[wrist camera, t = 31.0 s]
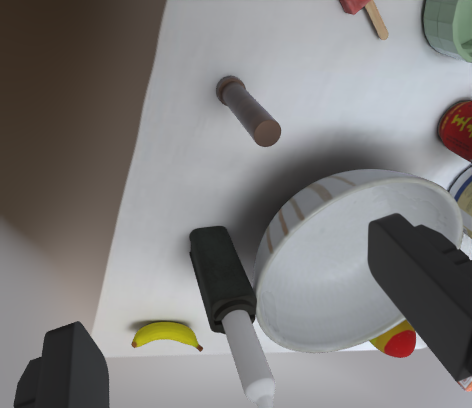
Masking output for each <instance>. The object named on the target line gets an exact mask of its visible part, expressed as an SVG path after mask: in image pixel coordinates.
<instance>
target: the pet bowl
mask: <svg viewBox="0 0 472 408" xmlns="http://www.w3.org/2000/svg"><path fill="white" fill-rule="evenodd" d="M423 20H424V30H425V35H426V37H427V39H428V41H429V43H430V45H431V46H432V47H433V48H434V49H435V50H436V51H438V52H439V53H441V54H445V55H448V56H451V57H454V58H457V59H460V60H463V61H466V62H470V63H472V0H426V5H425V11H424V18H423Z"/></svg>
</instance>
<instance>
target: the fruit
mask: <svg viewBox="0 0 472 408" xmlns="http://www.w3.org/2000/svg"><path fill="white" fill-rule="evenodd" d="M160 339H170V340H175V341H179V342H182V343H184V344H188V345H192V346H194V347H196V348H197V349H198V350H199V351H200V352H201V351H202V350H203V347H201V346H200V345H199V344H198V342H197V339H196V336H195V333H194V332H193V331H192V330H191V329H190V328H189V327H187V326H185V325H182V324H179V323H174V322H157V323H152V324H149V325H146V326H144V327H142V328H141V329H139V330H138V331H137V333H136V334H135V337H134V339H133V342H132V344H131V345H132V346H133V347H134V348H136V347H140V346H142V345H144V344H146V343H149V342H151V341H154V340H160Z"/></svg>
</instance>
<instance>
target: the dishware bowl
mask: <svg viewBox="0 0 472 408" xmlns="http://www.w3.org/2000/svg"><path fill="white" fill-rule="evenodd" d="M393 213H399V214H401V215H402V216H403V217H404V218H405V219H407V220H408V221H409V222H410V223H411V224H412V225H413V226H414V227H415V226H418V225H420V224H422V225H424V226H426V227H429V228H431V229H433V230H435V231H438V232H440V233H442V234H443V235H444V236H445V237H446V238H447V239H449V240H450V241H451V242H452V243H453V244H454V245H456V246H457V249H460V247H461V243H462V237H463V219H462V214H461V211H460V208H459V206H458V204H457V202H456V200H455V199H454V198H453V196H452V195H451V194H450V193H449V192H448V191H447V190H445V189H444V188H443V187H441V186H439V185H438V184H436V183H434V182H432V181H429V180H427V179H424V178H421V177H418V176H415V175H411V174H407V173H403V172H398V171H392V170H382V169H362V170H352V171H346V172H342V173H337V174H334V175H331V176H328V177H325V178H323V179H320V180H318V181H316V182H314V183H312V184H310V185H309V186H307V187H305V188H304V189H302V190H301V191H299V192H298V193H297V194H295V195H294V196H293V197H292V198H291V199H289V200H288V201H287V202H286V203H285V204H284V205H283V206H282V208H281V209H280V210H279V211H278V212H277V214H276V215H275V216H274V218H273V219H272V221H271V222H270V224H269V226H268V227H267V229H266V231H265V233H264V235H263V237H262V240H261V242H260V245H259V248H258V251H257V255H256V260H255V265H254V272H253V291H254V293H255V296H256V298H257V307H256V318H257V321H258V323H259V325H260V327H261V328H262V330H263V331H264V333H265V334H266V335H267V336H268V337H269V338H270V339H271V340H272V341H274V342H275V343H277V344H278V345H280V346H282V347H285V348H287V349H290V350H294V351H298V352H306V353H325V352H332V351H338V350H343V349H346V348H350V347H353V346H356V345H359V344H362V343H364V342H367V341H369V340H371V339H374V338H376V337H378V336H380V335H382V334H383V333H385V332H387V331H389V330H390V329H392V328H394V327H395V326H397V325H398V324H400V323H401V322H403V321H404V320H405V319H406V318H405V317H404V316H403V315H402V313H401V312H400V311H399V310H398V308H397V307H396V306H395V305H394V303H393V302H392V301H391V300H390V298H389V297H388V296H387V295H386V293H385V292H384V291H383V290H382V288H381V287H380V286H379V285H378V283H377V282H376V281H375V279H374V278H373V276H372V274H371V272H370V269H369V266H368V261H367V254H368V225H369V223H370V222H371V221H373V220H376V219H379V218H382V217H385V216H387V215H390V214H393Z"/></svg>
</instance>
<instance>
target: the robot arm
mask: <svg viewBox="0 0 472 408" xmlns="http://www.w3.org/2000/svg"><path fill="white" fill-rule="evenodd" d="M367 261H368V266H369V269H370V272H371V274H372V276H373V278H374V279H375V281H376V282H377V283H378V285H379V286H380V287H381V288H382V290H383V291H384V292H385V293H386V295H387V296H388V297H389V298H390V300H391V301H392V302H393V303H394V305H395V306H396V307H397V308H398V310H399V311H400V312H401V313H402V315H403V316H404V317H405V318H406V320H407V321H408V322H409V323H410V324H411V326H412V327H413V328H414V329H415V331H416V332H417V333H418V334H419V336H420V337H421V338H422V339H423V341H424V342H425V343H426V344H427V346H428V347H429V348H430V349H431V351H432V352H433V353H434V354H435V356H436V357H437V358H438V359H439V361H440V362H441V363H442V364H443V366H444V367H445V368H446V369H447V371H448V372H449V373H450V374H451V376H452V377H453V378H454V379H455V381H456V382H459V381H461V380H464V379H466V378H468V377H471V376H472V260H470V259H469V257H468V256H467V255H466V254H465V253H464V252H462V251H461V250H460V249H457V246H456V245H454V244H453V243H452V242H451V241H450V240H449V239H447V238H446V237H445V236H444V235H443V234H442V233H440V232H438V231H435V230H433V229H431V228H429V227H426V226H424V225H422V224H420V225H418V226H415V227H414V226H413V225H412V224H411V223H410V222H409V221H408V220H407V219H405V218H404V217H403V216H402V215H401V214H399V213H393V214H390V215H387V216H385V217H382V218H379V219H376V220H373V221H371V222H370V223H369V225H368V254H367ZM14 408H109V374H108V368H107V364H106V361H105V358H104V356H103V354H102V352H101V351H100V349H99V348H98V346H97V345H96V343H95V342H94V341H93V339H92V338H91V336H90V335H89V333H88V332H87V330H86V329H85V328H84V326H83V325H82V324H81V323H80V322H79V321H77V322H74V323H71V324H68V325H66V326H62V327H60V328H57V329H54V330H51V331H48V332H47V333H46V334H45V337H44V343H43V350H42V357H39V358H36V359H34V360H30V362H29V364H28V365H27V367H26V369H25V371H24V373H23V375H22V376H21V378H20V380H19V382H18V385H17V390H16V395H15V400H14Z"/></svg>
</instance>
